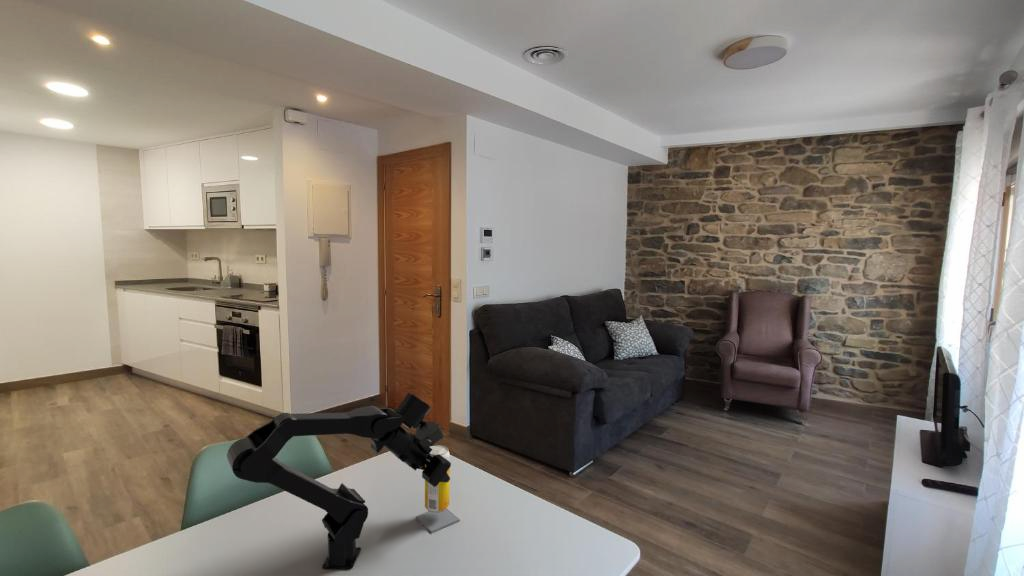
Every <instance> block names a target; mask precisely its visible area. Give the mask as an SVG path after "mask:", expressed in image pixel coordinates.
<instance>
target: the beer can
mask: <svg viewBox="0 0 1024 576" xmlns="http://www.w3.org/2000/svg"><path fill="white" fill-rule="evenodd" d="M430 448H431V449H432V451H431V452H430V454H429V455H430V456H431V457H433V456H434V455H438V454H439V455H441V456H442V457H444V458H445V459H447V460H448V461H449V462H450V461H451V460H450V458H451V457H450V456H451V455H450V451H449V448H448V447H447V446H444V445H432V446H430ZM426 460H428V459H426ZM428 461H429V460H428ZM429 462H430V461H429ZM450 463H451V462H450ZM425 467H426V465H425ZM450 468H451V467H450ZM450 468H449V469H448V471H447V474H448V475H449V477H450V475H451V474H450V473H451V469H450ZM450 478H451V477H450ZM449 506H450V481H449V482H439V484H438V485H437V486H435V487H434V486H432V485H431V484H430V483H429V482H427V481H426V480H425V479H424V507H425V509H426V510H427V512H428V511H429V512H431V513H441V512H443V511H445V510H446V509H448V508H449Z"/></svg>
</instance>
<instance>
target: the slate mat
mask: <svg viewBox="0 0 1024 576" xmlns="http://www.w3.org/2000/svg"><path fill="white" fill-rule="evenodd" d="M415 519H416V520H417V521H418V522H419V523H420V524H421V525H422V526H423V527H425V529H426V530H427V531H429V532H430V533H431V534H434V533H435V532H436V533H437V532H438V531H441V530H442V529H445V528H447V527H450V526H451V525H452V526H453V525H454V524H457V523H458V522H460V521H461V519H460V518H459V517H458V516H456V515H455V514H454V513H453V512H452V511H450V510H449V509H448V508H447V509H446V510H445V511H443V512H441V513H431V512H429V511H428V510H427V511H425V512H423V513H420V514H418V515H415Z"/></svg>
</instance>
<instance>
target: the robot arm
mask: <svg viewBox="0 0 1024 576" xmlns="http://www.w3.org/2000/svg"><path fill="white" fill-rule="evenodd" d="M431 410H432V407H431V406H430V405H429V404H427V403H426V402H425V401H424V400H421V399H420V398H419V397H417V396H416V395H415V394H413V393H412V392H408V393H407V394H406V395H405V397H404V398H403V399H402V401H401V403H400V404H399V405H398V406H397V408H396V409H395V410H394V409H392V408H391V407H387V408H385V407H384V408H383V407H382V408H379V407H377V406H375V405H367V406H362V407H357V408H354V409H352V410H350V411H344V412H313V413H312V412H311V413H304V412H303V413H290V412H283V413H279V414H278V415H276V416H275V417H274V418H272V420H271V421H269V422H267V423H264V424H263V425H261V426H259V427H258V428H256V429H254V430H253V431H251V432H250V433H249V434H248V435H247V436H246V437H244V438H240V439H238V440H236V441H234V442H233V443H232V444H231V445H230V446H229V448H228V450H227V452H226V458H227V462H228V464H229V466H230V468H231V471H232V473H233V474H234V476H235V477H236V478H237V479H240V480H243V481H247V482H251V483H255V484H270V485H272V486H274V487H275V488H278V489H280V490H283V491H285V492H286V493H289V494H290V495H293V496H295V497H296V498H299V499H301V500H303V501H305V502H307V503H309V504H311V505H313V506H315V507H318V508H320V509H322V510H323V511H325V512H326V513H325V515H324V516H323V517H322V519H321V523H322V525H323V526H324V528H325V529H326V530H327V532H328V533H327V557H326V558H325V559H324V560H325V561H324V562H323V563H322V565H321V567H322V569H323V570H327V569H328V570H329V569H330V570H332V569H333V570H350V569H351V570H352V569H353V568H354V566H355V564H356V562H357V559H358V557H359V555H360V553H361V551H362V547H359V546H356V545H357V541H356V540H357V539H360V536H361V533H362V530H363V528H364V523H366V520H367V518H368V516H369V507H368V506H367V505H366V504H365V503H366V500H365V499H364V498H363V497H362V496H361V495H360V494H359V492H357V491H356V489H355V488H350V487H347V486H346V485H345V484H344V483H343V482H342V483H340V485H339V487H338V488H331V487H329V486H327V485H326V484H324V483H321V482H320V481H318V480H317V479H314V478H313V477H311V476H308V475H307V474H304V473H303V472H301V471H299V470H297V469H295V468H293V467H292V466H289V465H288V464H285V463H284V462H282V461H280V460H278V458H276V456H277V455H278V454H279V453H280V452H281V451H282V449H283V448H284V447H285V445H286V444H287V443H288V441H290V440H291V439H292V438H293V437H304V436H305V437H307V436H308V437H309V436H311V437H312V436H327V435H344V434H347V435H354V436H357V437H361V438H366V439H367V438H368V439H370V440H371V441H370V448H371V450H373V451H374V452H376V453H377V454H379V453H380V452H381V451H382V450H383V448H385V449H386V450H387V451H389V453H392V454H393V455H394V456H395V457H396V458H397V459H399V460H400V461H402V462H403V463H405V465H407V466H409V468H411V469H412V470H414V471H417V470H422V471H421V478H422V479H424V481H425V480H426V481H427V482H429V483H430V484H431V485H432V486H434V487H435V486H437V485H438V484H439V482H449V483H450V481H451V477H449V475H448V474H447V471H448V469H449V468H451V467H452V463H451V462H449V461H448V460H447V459H445V458H444V457H442V456H441V455H439V454H438V455H434V456H433V457H431V456H430V455H429V454H430V452H431V451H432V449H431V448H430V447H432V446H435V444H436V443H437V442H439V441H440V440H442V439H444V437H445V434H444V433H443V430H442V428H441V425H440V424H439V423H437V422H435V421H432V420H431V421H430V420H427V422H426V421H424V418H426V416H427V415H428V413H429V412H430V411H431ZM402 425H403V426H404V427H406V429H409V430H411V429H413V430H415V433H414V434H413V433H412V432H410V431H408V430H406V429H405V428H404V427H403V426H402ZM426 459H428V460H429V461H430V462H429V461H428V460H426ZM425 465H426V467H425Z"/></svg>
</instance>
